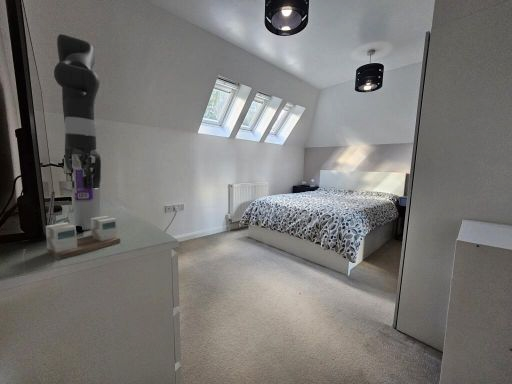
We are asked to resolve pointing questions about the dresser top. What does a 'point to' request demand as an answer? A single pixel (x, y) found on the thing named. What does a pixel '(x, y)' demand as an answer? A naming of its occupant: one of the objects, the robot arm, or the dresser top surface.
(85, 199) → the container
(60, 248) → the board
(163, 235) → the dresser top surface
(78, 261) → the dresser top surface
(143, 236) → the dresser top surface
